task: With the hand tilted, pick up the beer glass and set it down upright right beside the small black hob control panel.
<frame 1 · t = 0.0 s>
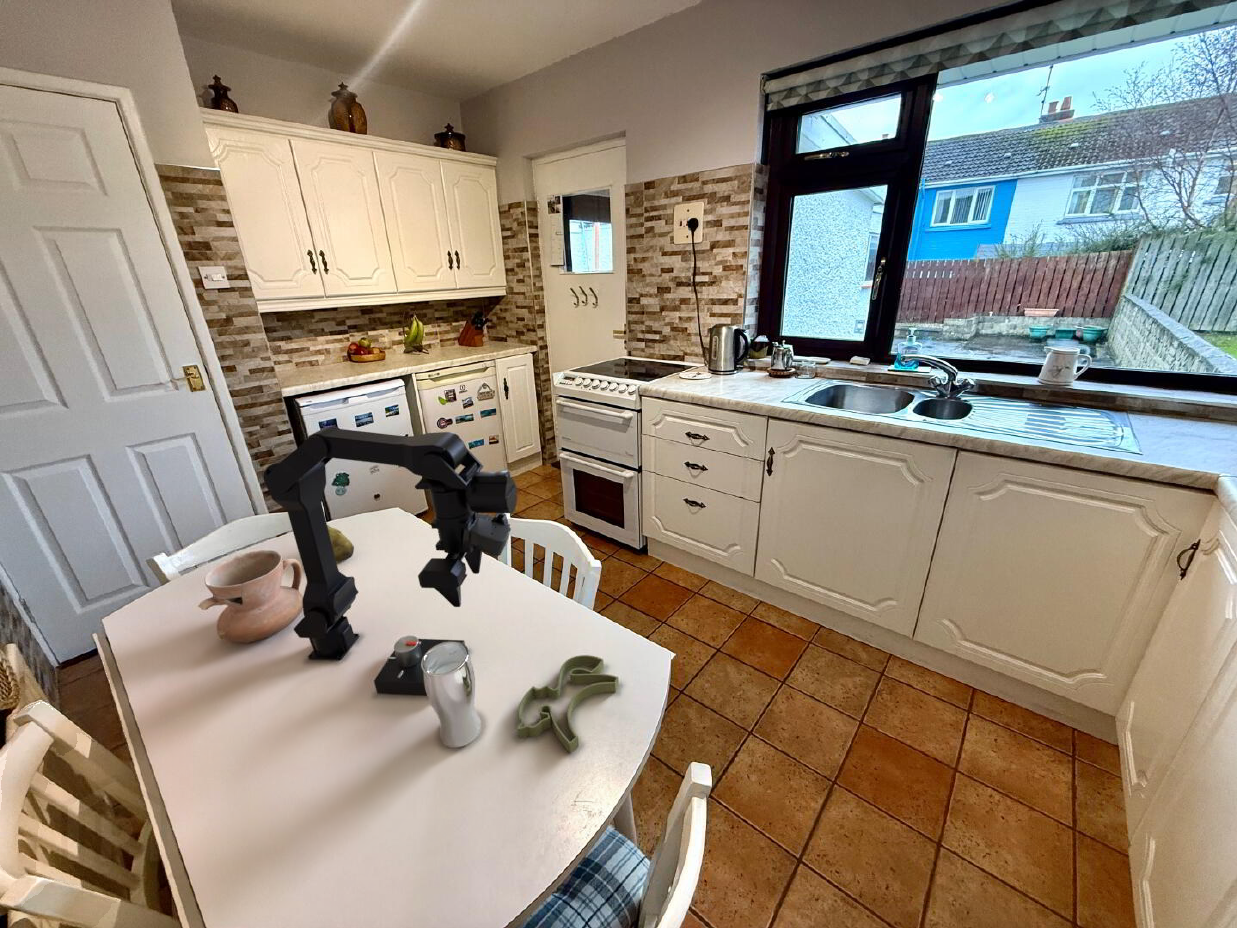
hand: (467, 588, 85), 15 cm above the table, tool pointing down, fingers open, 9 cm apart
hob panel: (424, 672, 87), on the table
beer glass: (461, 731, 76), on the table
ceramic jug: (269, 623, 100), on the table
hob knob: (407, 650, 85), point 5 cm above the table, hinge at 0.0°
cookie cutter: (568, 703, 80), on the table
potato: (332, 557, 122), on the table
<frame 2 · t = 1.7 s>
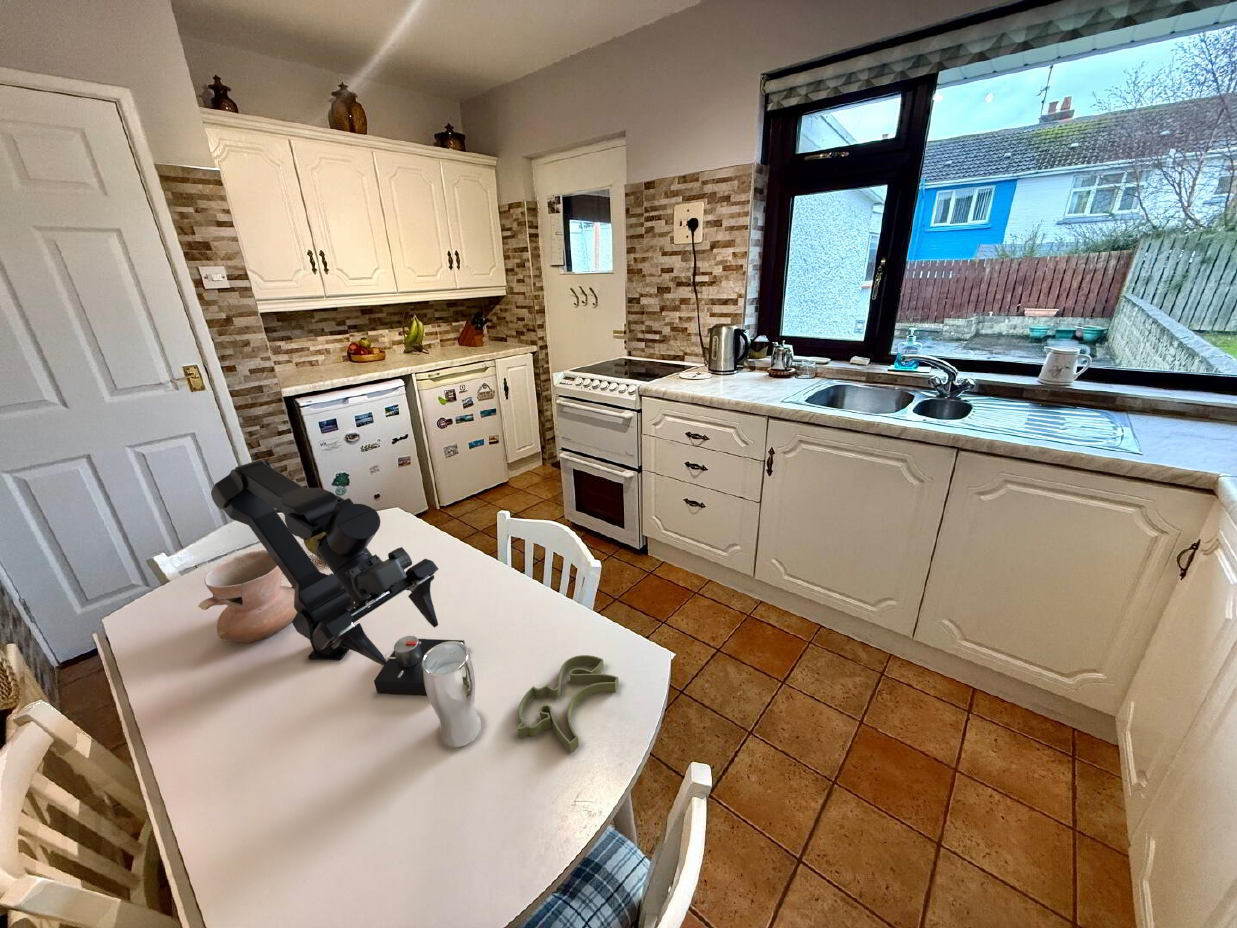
hand: (412, 644, 74), 13 cm above the table, tool tilted 45°, fingers open, 9 cm apart
nothing on the table moved.
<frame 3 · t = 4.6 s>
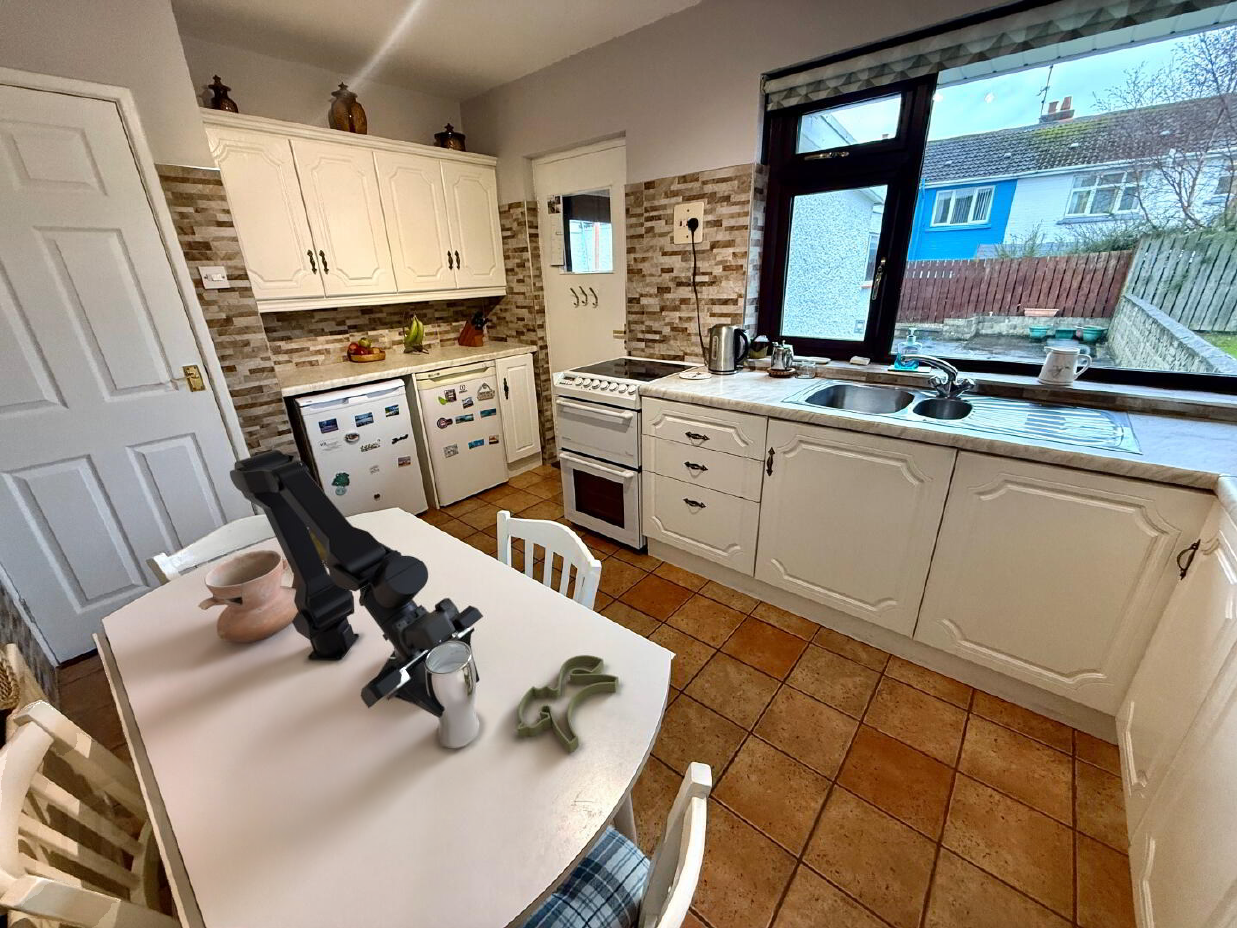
hand: (459, 698, 72), 8 cm above the table, tool tilted 45°, fingers closed on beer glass, 7 cm apart
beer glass: (459, 731, 76), on the table, touching gripper
everything else where it was.
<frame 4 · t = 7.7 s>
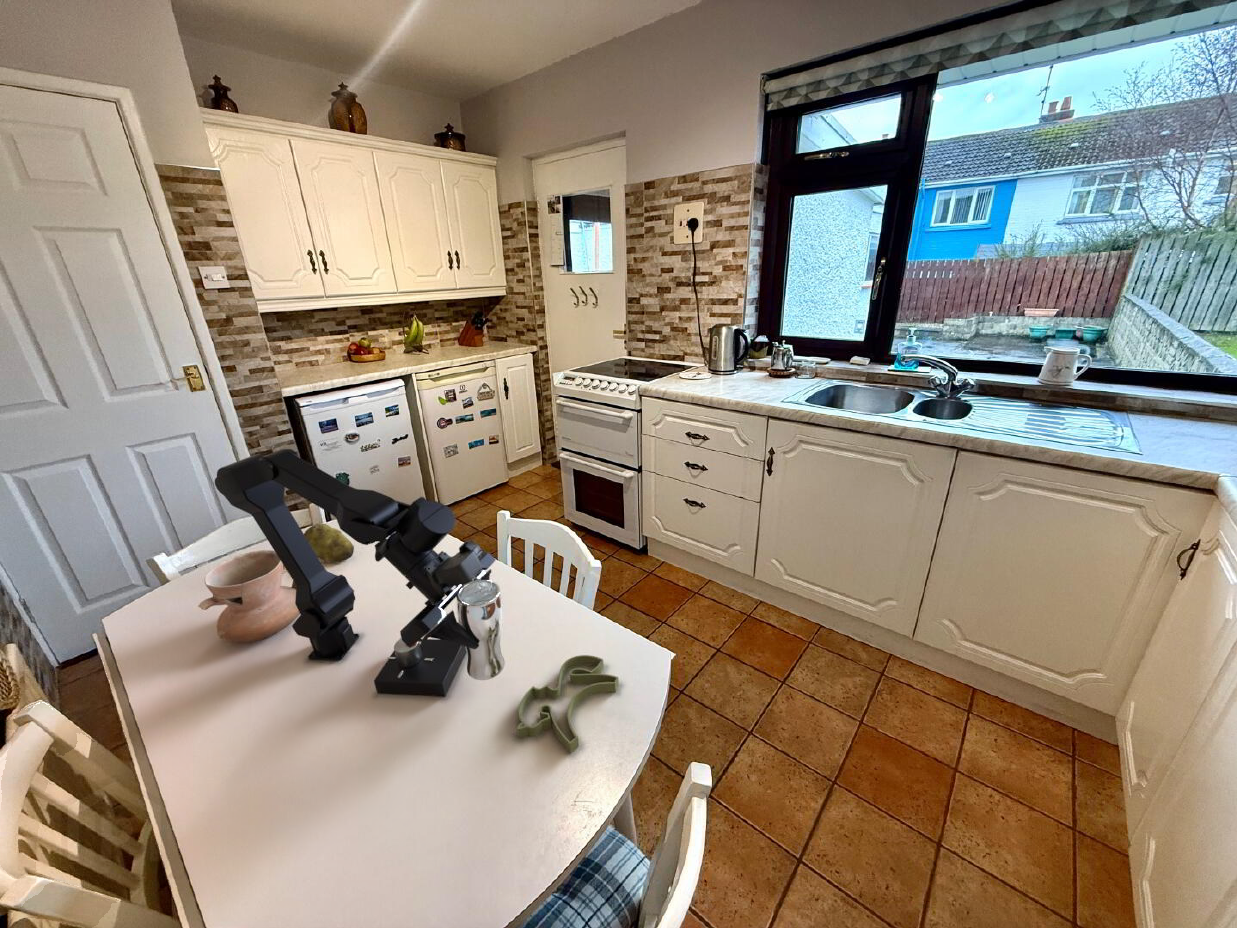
hand: (489, 631, 78), 13 cm above the table, tool tilted 45°, fingers closed on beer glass, 7 cm apart
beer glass: (486, 667, 81), point 5 cm above the table, touching gripper
everything else where it was.
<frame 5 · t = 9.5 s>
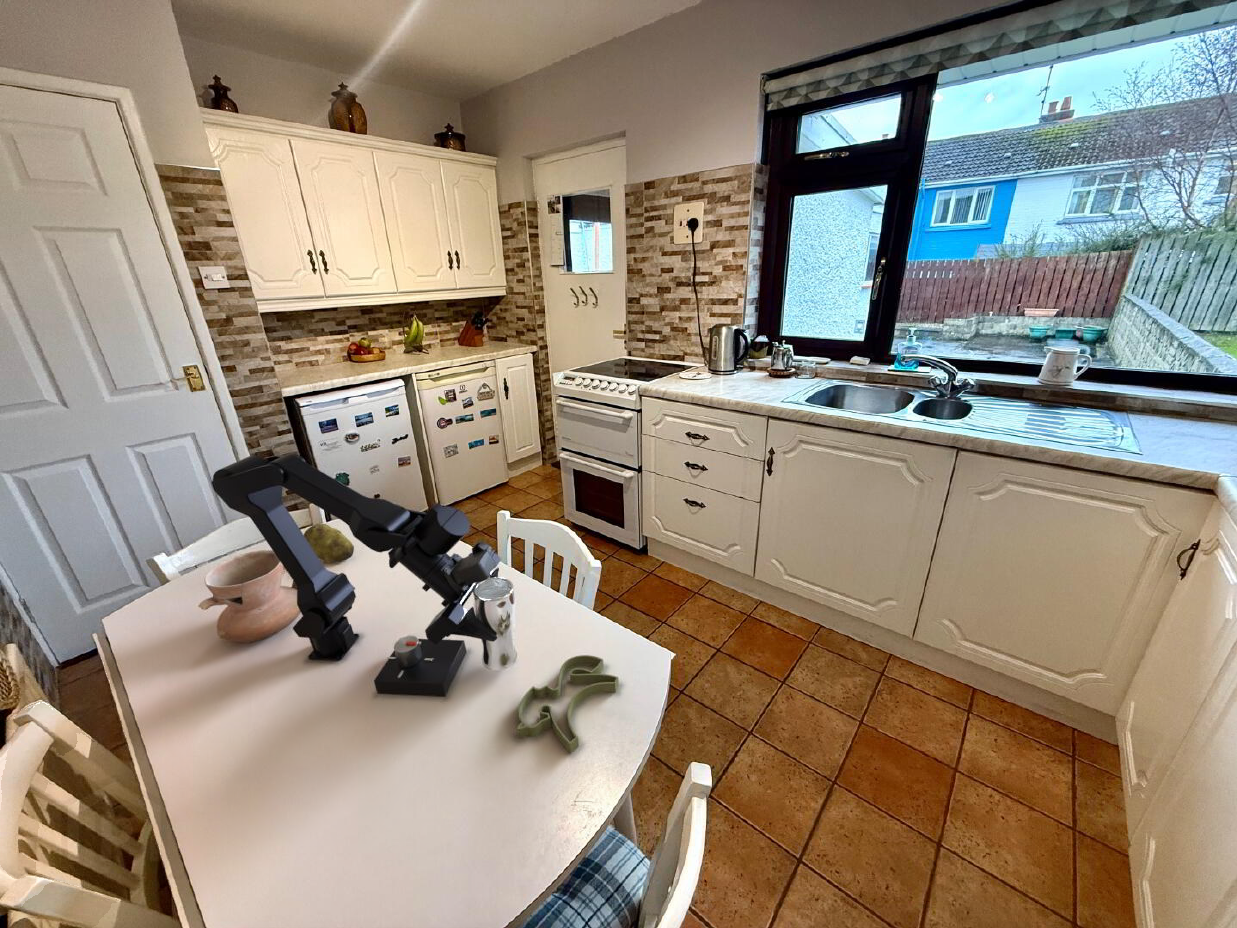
hand: (503, 625, 83), 10 cm above the table, tool tilted 45°, fingers closed on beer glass, 7 cm apart
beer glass: (499, 659, 86), point 2 cm above the table, touching gripper
everything else where it was.
when the fingers open (8 cm above the table, at t = 10.7 s): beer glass stays where it is, on the table.
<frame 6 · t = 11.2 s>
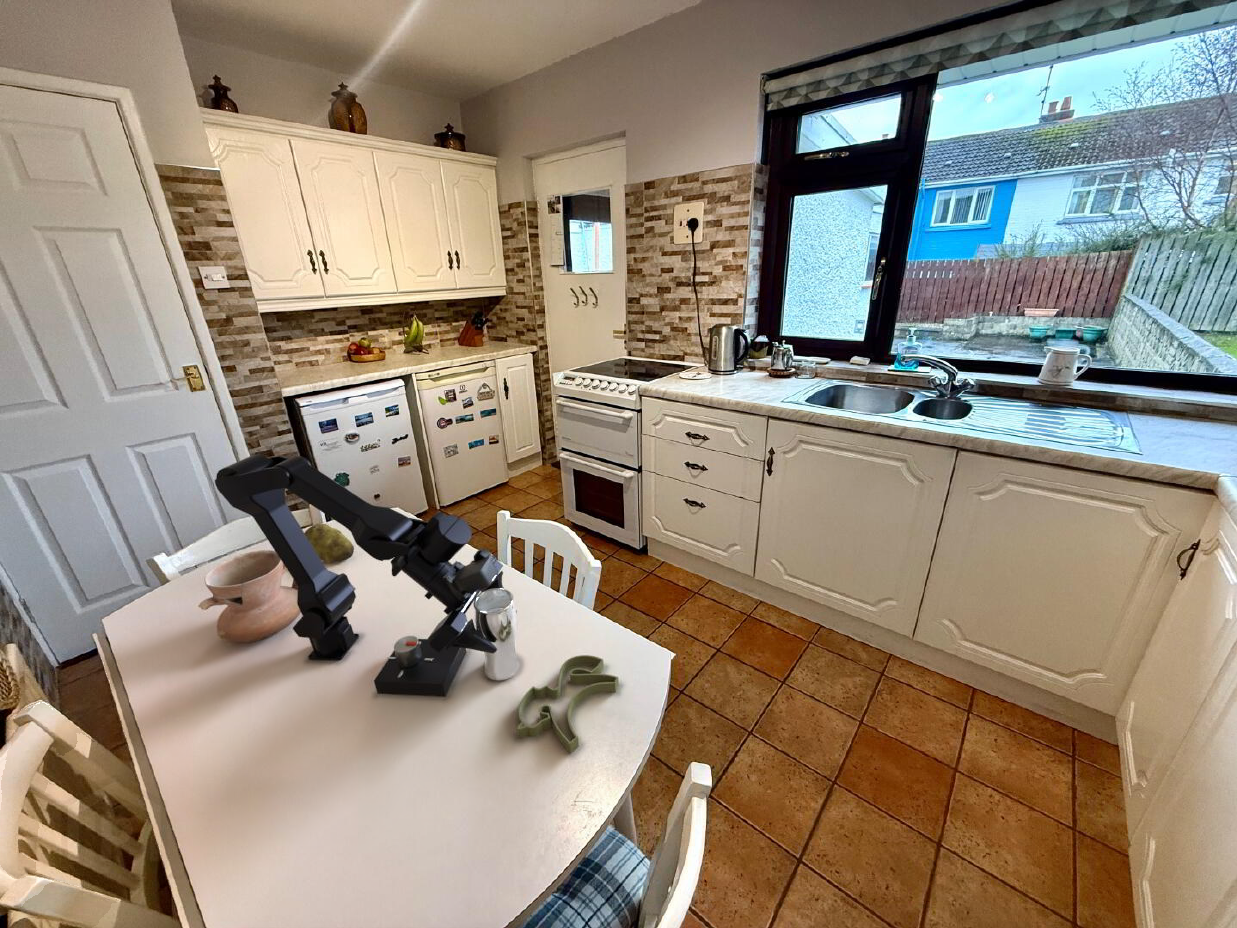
hand: (505, 631, 84), 8 cm above the table, tool tilted 45°, fingers open, 9 cm apart
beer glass: (502, 668, 87), on the table, touching gripper
everything else where it was.
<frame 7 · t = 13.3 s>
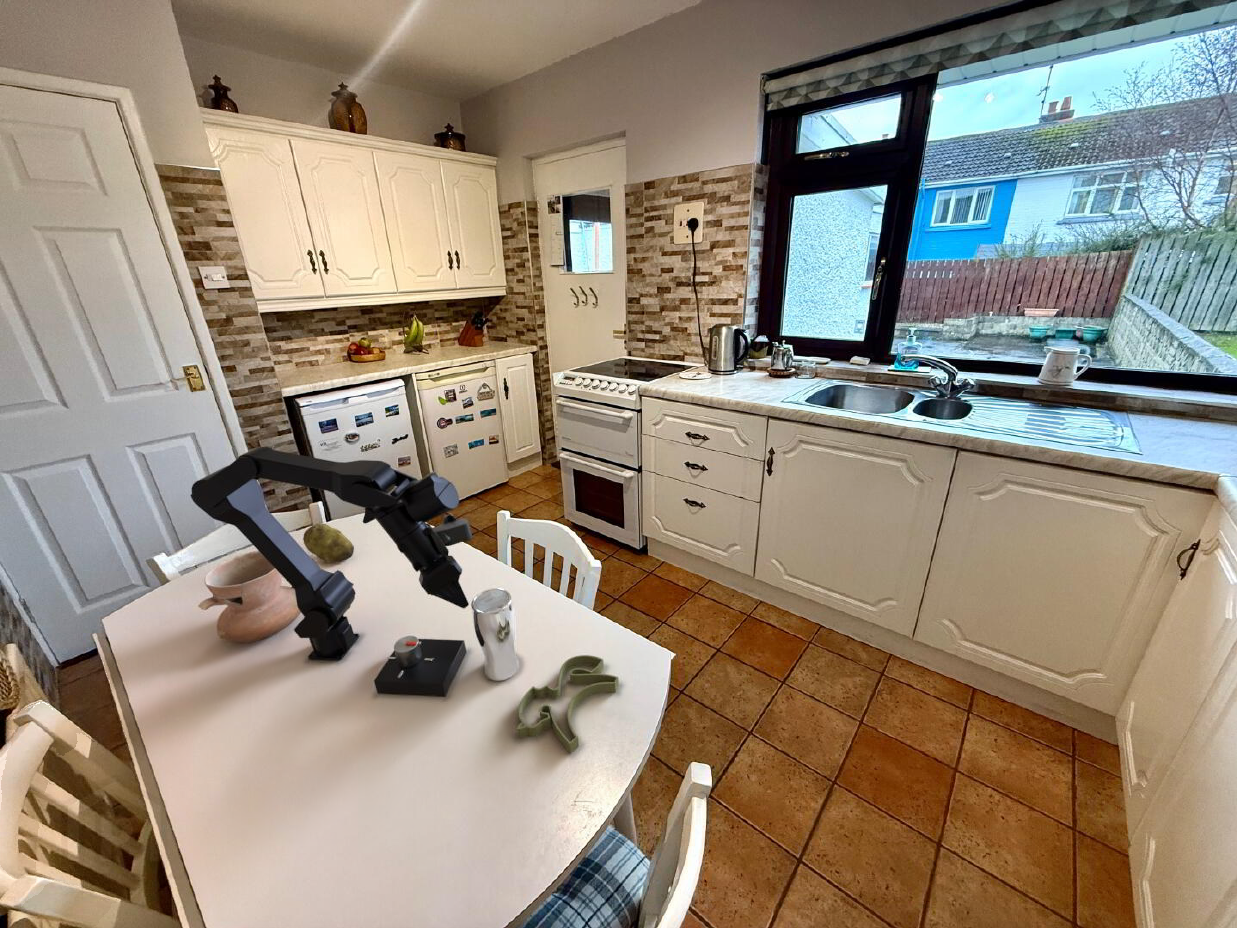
hand: (461, 597, 87), 12 cm above the table, tool tilted 25°, fingers open, 9 cm apart
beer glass: (502, 668, 87), on the table
everything else where it was.
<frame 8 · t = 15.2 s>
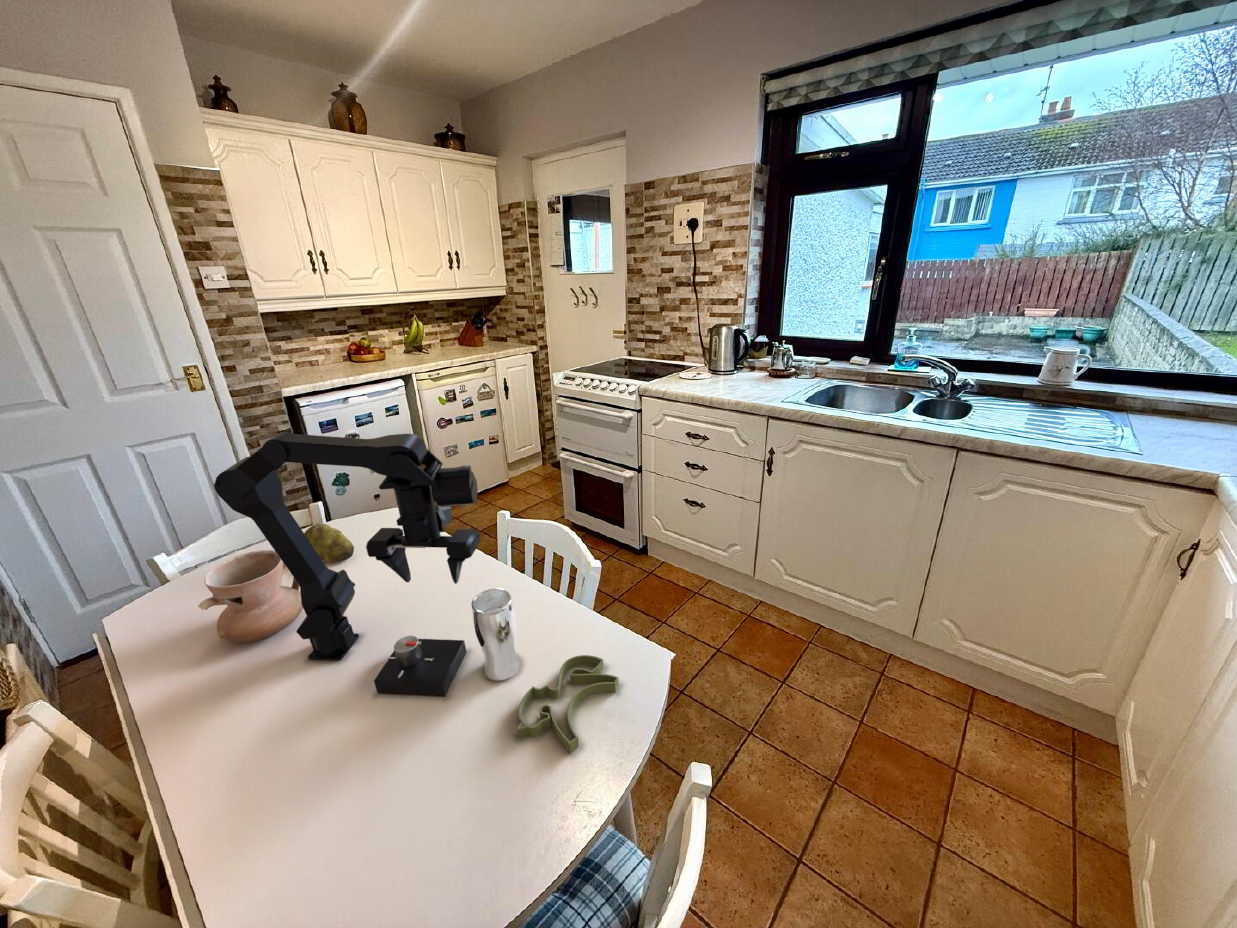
hand: (432, 581, 90), 13 cm above the table, tool pointing down, fingers open, 9 cm apart
nothing on the table moved.
at the end: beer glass 13.9 cm from the hob panel (horizontally); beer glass tilted 0°; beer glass moved 13.0 cm from its start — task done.
